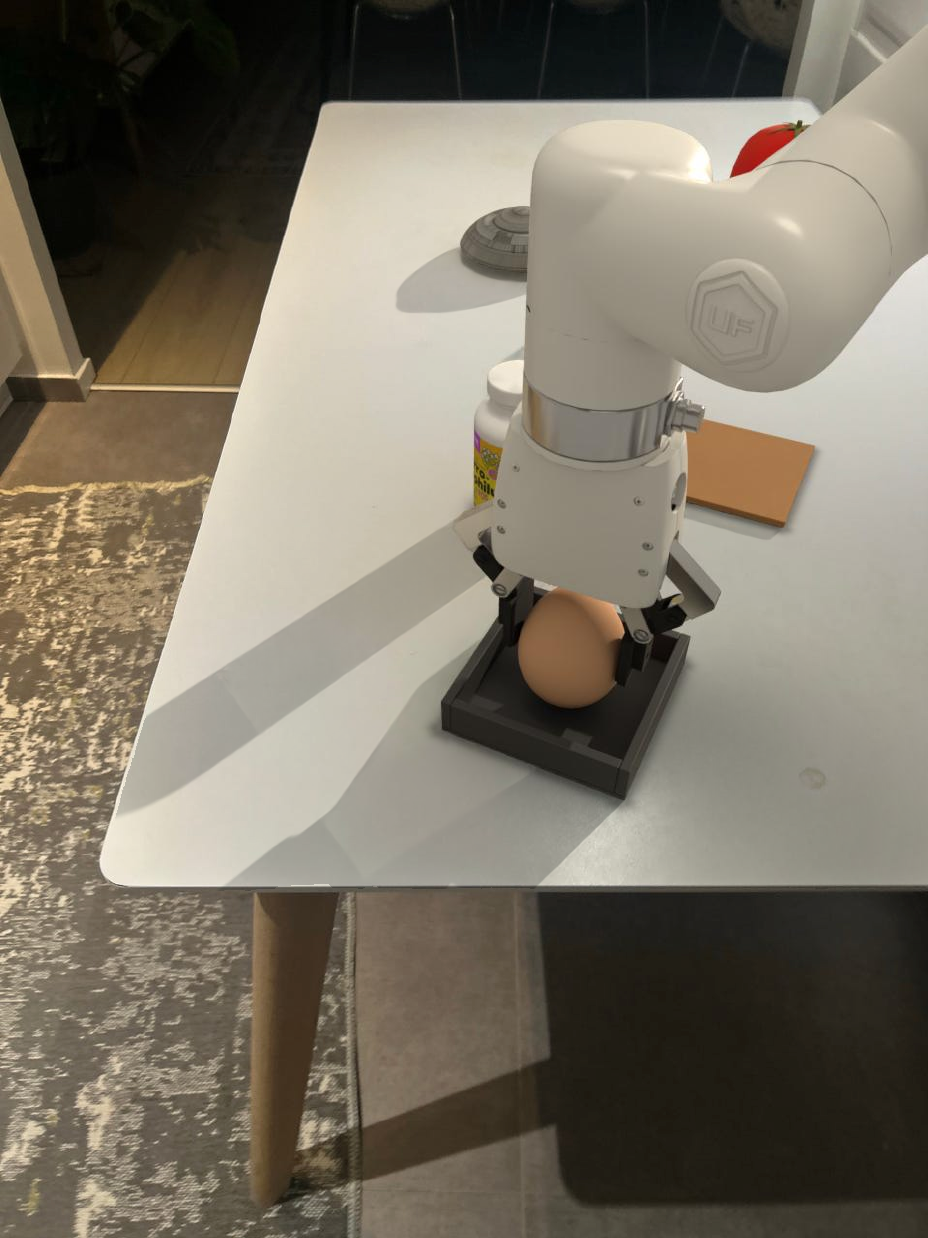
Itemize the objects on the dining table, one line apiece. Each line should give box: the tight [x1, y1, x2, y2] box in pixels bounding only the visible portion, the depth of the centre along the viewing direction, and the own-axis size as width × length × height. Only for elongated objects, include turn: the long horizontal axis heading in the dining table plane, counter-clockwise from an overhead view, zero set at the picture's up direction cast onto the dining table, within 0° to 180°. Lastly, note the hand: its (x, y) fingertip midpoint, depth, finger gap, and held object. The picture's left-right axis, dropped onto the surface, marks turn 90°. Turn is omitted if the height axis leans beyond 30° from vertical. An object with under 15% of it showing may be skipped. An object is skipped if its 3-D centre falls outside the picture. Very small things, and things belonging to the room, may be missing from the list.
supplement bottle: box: [473, 359, 524, 533], centre depth 70 cm, size 7×7×13 cm
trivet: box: [685, 418, 816, 528], centre depth 79 cm, size 12×12×1 cm
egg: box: [518, 586, 625, 708], centre depth 58 cm, size 7×7×9 cm
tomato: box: [729, 119, 811, 178], centre depth 108 cm, size 13×11×14 cm
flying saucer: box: [459, 205, 530, 273], centre depth 109 cm, size 15×15×6 cm
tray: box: [440, 585, 692, 801], centre depth 60 cm, size 12×12×3 cm
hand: (571, 649), depth 58 cm, fingers closed on egg, 6 cm apart
